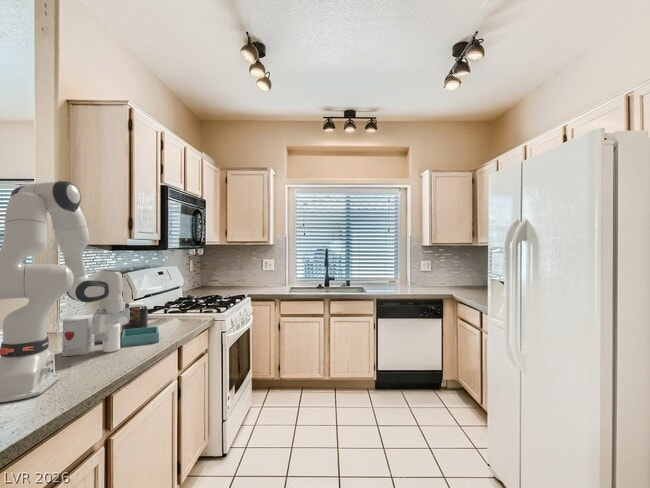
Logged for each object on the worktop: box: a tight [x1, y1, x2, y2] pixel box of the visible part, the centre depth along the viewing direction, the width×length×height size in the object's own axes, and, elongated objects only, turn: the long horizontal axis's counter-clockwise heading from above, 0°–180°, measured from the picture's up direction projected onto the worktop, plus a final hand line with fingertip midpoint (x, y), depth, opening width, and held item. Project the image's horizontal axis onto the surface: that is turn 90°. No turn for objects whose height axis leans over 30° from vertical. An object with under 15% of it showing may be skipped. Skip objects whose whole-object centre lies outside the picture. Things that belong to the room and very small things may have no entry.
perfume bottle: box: [94, 334, 103, 344], centre depth 162 cm, size 8×10×12 cm
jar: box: [121, 301, 149, 334], centre depth 180 cm, size 12×12×15 cm
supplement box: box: [61, 314, 95, 357], centre depth 147 cm, size 9×9×15 cm
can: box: [102, 321, 121, 353], centre depth 150 cm, size 6×6×12 cm
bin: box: [121, 325, 160, 347], centre depth 165 cm, size 15×15×4 cm
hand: (111, 339), depth 150 cm, fingers open, 6 cm apart
